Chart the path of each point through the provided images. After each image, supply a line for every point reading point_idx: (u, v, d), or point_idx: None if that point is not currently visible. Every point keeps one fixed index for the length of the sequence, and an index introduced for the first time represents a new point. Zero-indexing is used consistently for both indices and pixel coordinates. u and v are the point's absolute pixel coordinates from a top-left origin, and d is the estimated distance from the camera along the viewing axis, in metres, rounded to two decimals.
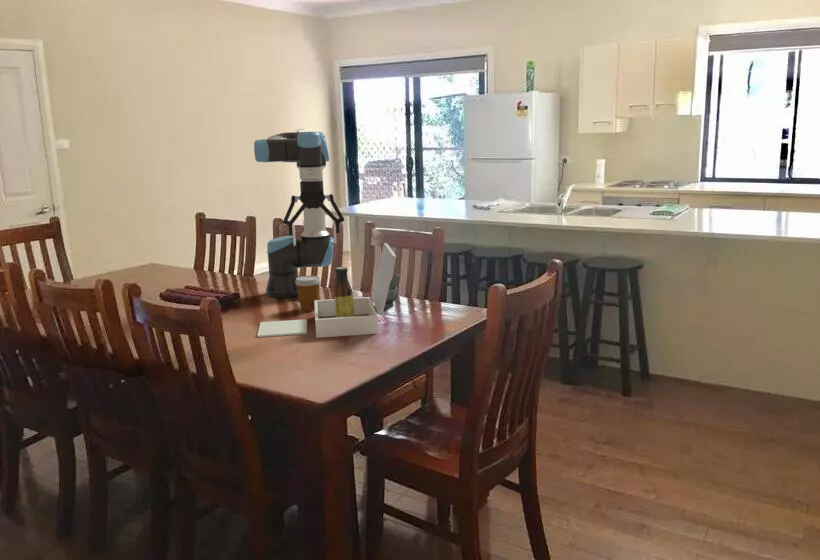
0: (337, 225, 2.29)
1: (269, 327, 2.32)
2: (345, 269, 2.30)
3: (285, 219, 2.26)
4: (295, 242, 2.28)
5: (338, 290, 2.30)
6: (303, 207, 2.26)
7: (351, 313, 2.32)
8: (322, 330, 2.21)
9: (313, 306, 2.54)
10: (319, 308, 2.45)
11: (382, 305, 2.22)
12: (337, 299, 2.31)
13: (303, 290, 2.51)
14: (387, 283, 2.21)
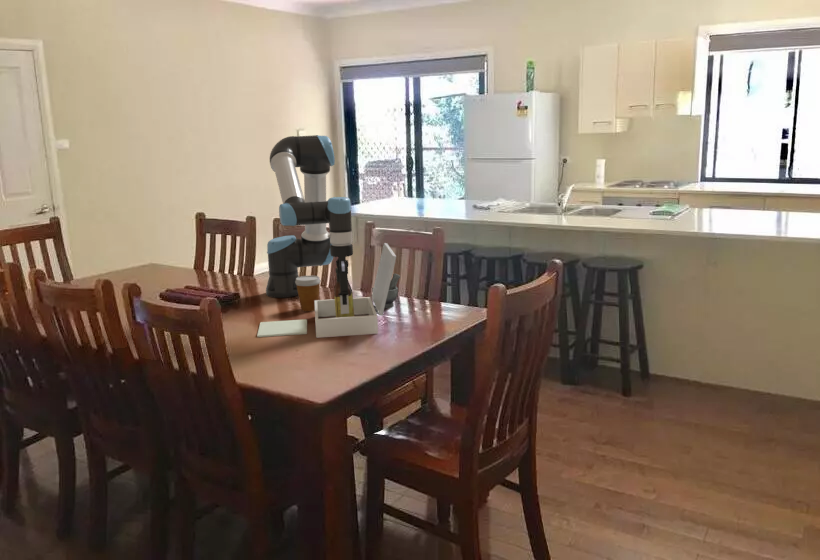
0: (342, 297, 2.28)
1: (269, 327, 2.32)
2: None
3: None
4: None
5: (338, 291, 2.30)
6: None
7: (351, 313, 2.32)
8: (322, 330, 2.21)
9: (313, 306, 2.54)
10: (319, 308, 2.45)
11: (382, 305, 2.22)
12: (337, 299, 2.30)
13: (303, 290, 2.51)
14: (387, 283, 2.21)
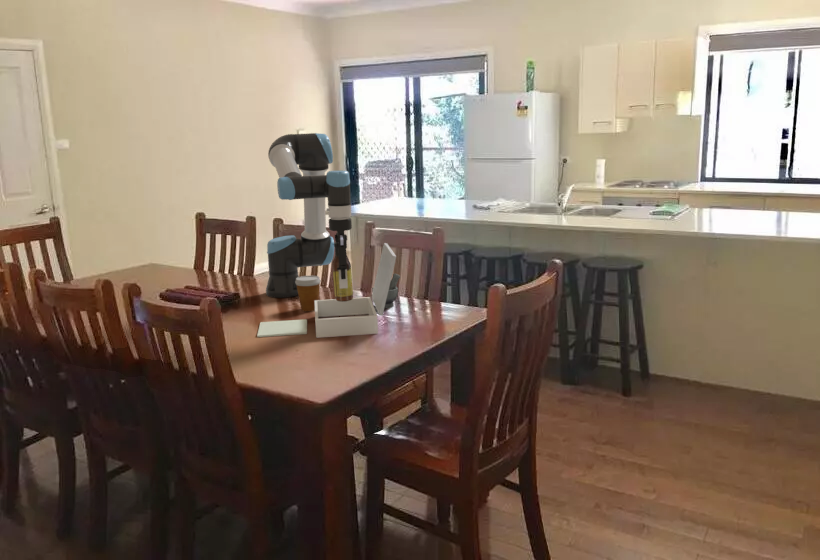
0: (340, 271, 2.27)
1: (269, 327, 2.32)
2: None
3: None
4: None
5: (336, 265, 2.28)
6: None
7: (350, 288, 2.31)
8: (322, 330, 2.21)
9: (313, 306, 2.54)
10: (319, 308, 2.45)
11: (382, 305, 2.22)
12: (336, 273, 2.29)
13: (303, 290, 2.51)
14: (387, 283, 2.21)
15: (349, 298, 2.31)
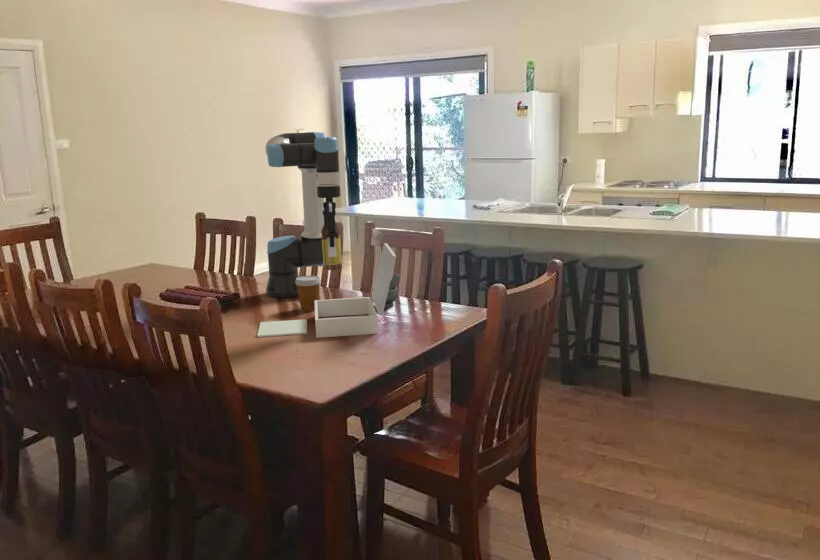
0: (329, 239, 2.24)
1: (269, 327, 2.32)
2: None
3: None
4: None
5: (325, 233, 2.25)
6: None
7: (339, 256, 2.28)
8: (322, 330, 2.21)
9: (313, 306, 2.54)
10: (319, 308, 2.45)
11: (382, 305, 2.22)
12: (324, 241, 2.26)
13: (303, 290, 2.51)
14: (387, 283, 2.21)
15: (338, 267, 2.28)
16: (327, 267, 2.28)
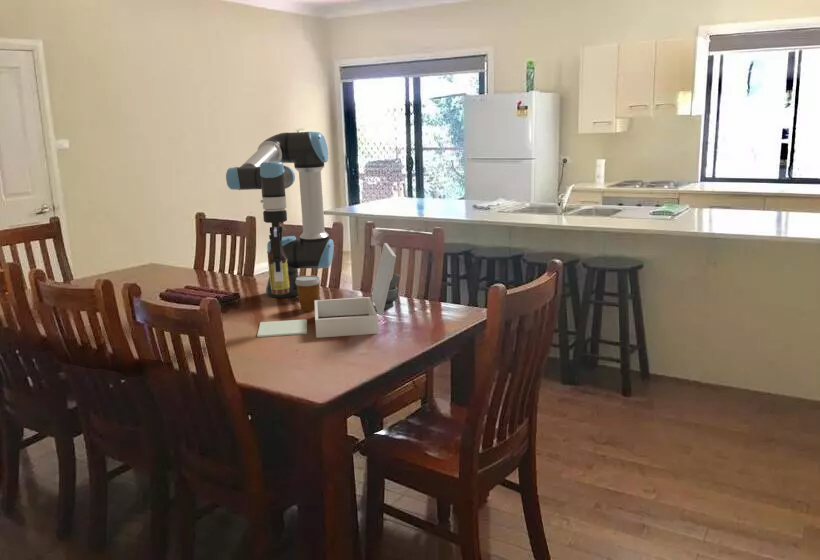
0: None
1: (269, 327, 2.32)
2: None
3: None
4: None
5: (271, 257, 2.24)
6: None
7: (286, 281, 2.26)
8: (322, 330, 2.21)
9: (313, 306, 2.54)
10: (319, 308, 2.45)
11: (382, 305, 2.22)
12: (271, 266, 2.25)
13: (303, 290, 2.51)
14: (387, 283, 2.21)
15: (285, 291, 2.27)
16: (274, 292, 2.26)
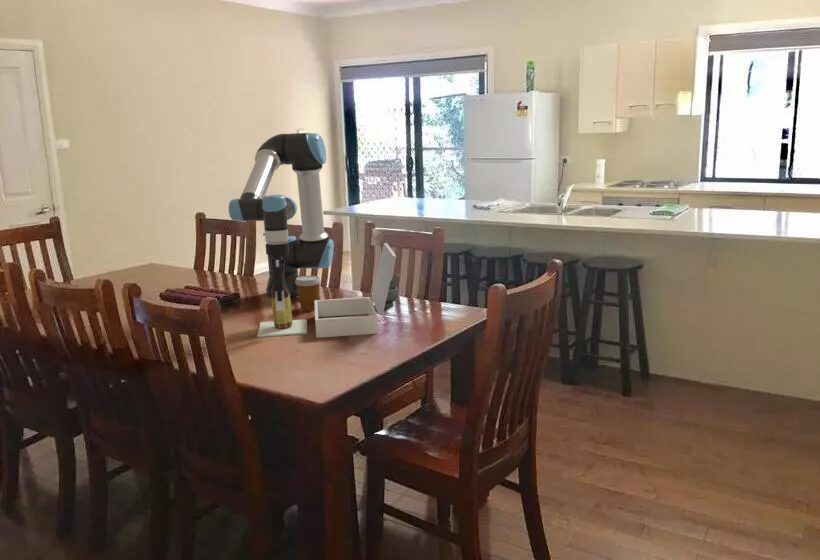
0: (277, 293, 2.22)
1: (269, 327, 2.32)
2: None
3: None
4: None
5: (274, 292, 2.27)
6: None
7: (288, 315, 2.30)
8: (322, 330, 2.21)
9: (313, 306, 2.54)
10: (319, 308, 2.45)
11: (382, 305, 2.22)
12: (274, 300, 2.28)
13: (303, 290, 2.51)
14: (387, 283, 2.21)
15: (288, 325, 2.30)
16: (276, 325, 2.30)
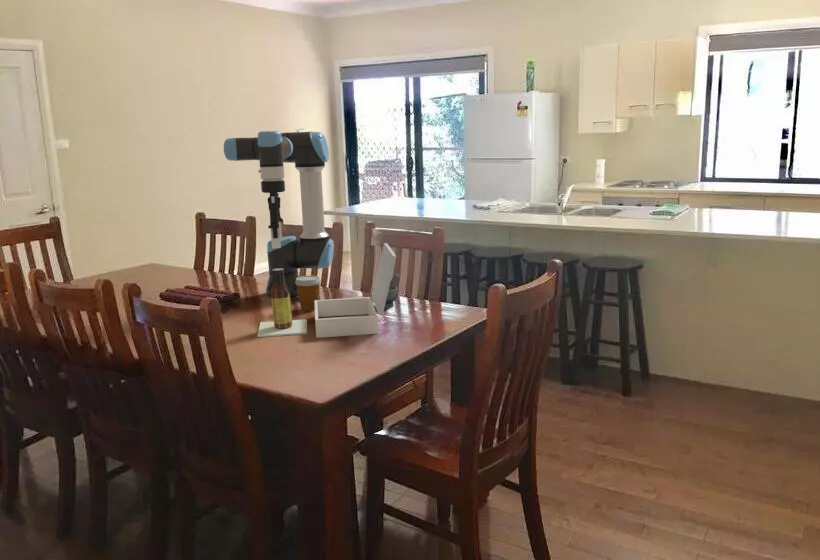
0: (272, 230, 2.17)
1: (269, 327, 2.32)
2: (281, 270, 2.27)
3: None
4: None
5: (274, 292, 2.27)
6: None
7: (288, 315, 2.30)
8: (322, 330, 2.21)
9: (313, 306, 2.54)
10: (319, 308, 2.45)
11: (382, 305, 2.22)
12: (273, 300, 2.28)
13: (303, 290, 2.51)
14: (387, 283, 2.21)
15: (288, 325, 2.30)
16: (276, 325, 2.30)
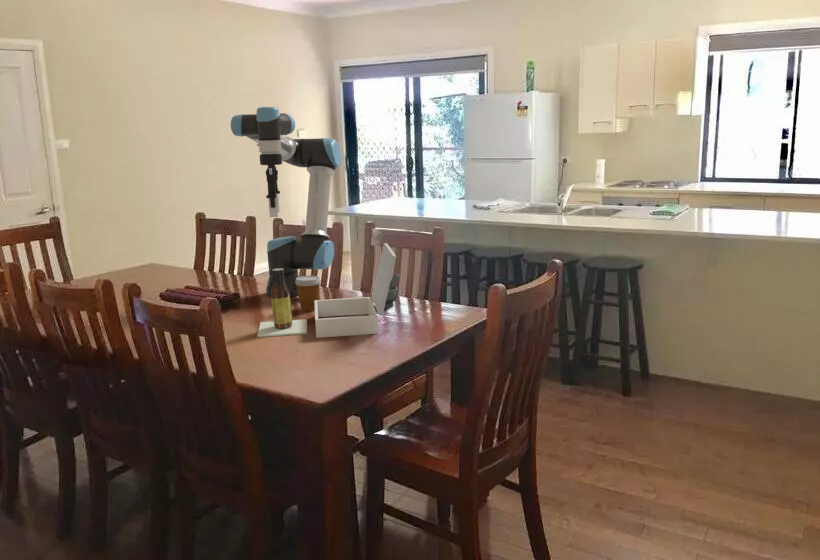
0: (270, 200, 2.32)
1: (269, 327, 2.32)
2: (281, 270, 2.27)
3: None
4: None
5: (274, 292, 2.27)
6: None
7: (288, 315, 2.30)
8: (322, 330, 2.21)
9: (313, 306, 2.54)
10: (319, 308, 2.45)
11: (382, 305, 2.22)
12: (273, 300, 2.28)
13: (303, 290, 2.51)
14: (387, 283, 2.21)
15: (288, 325, 2.30)
16: (276, 325, 2.30)
